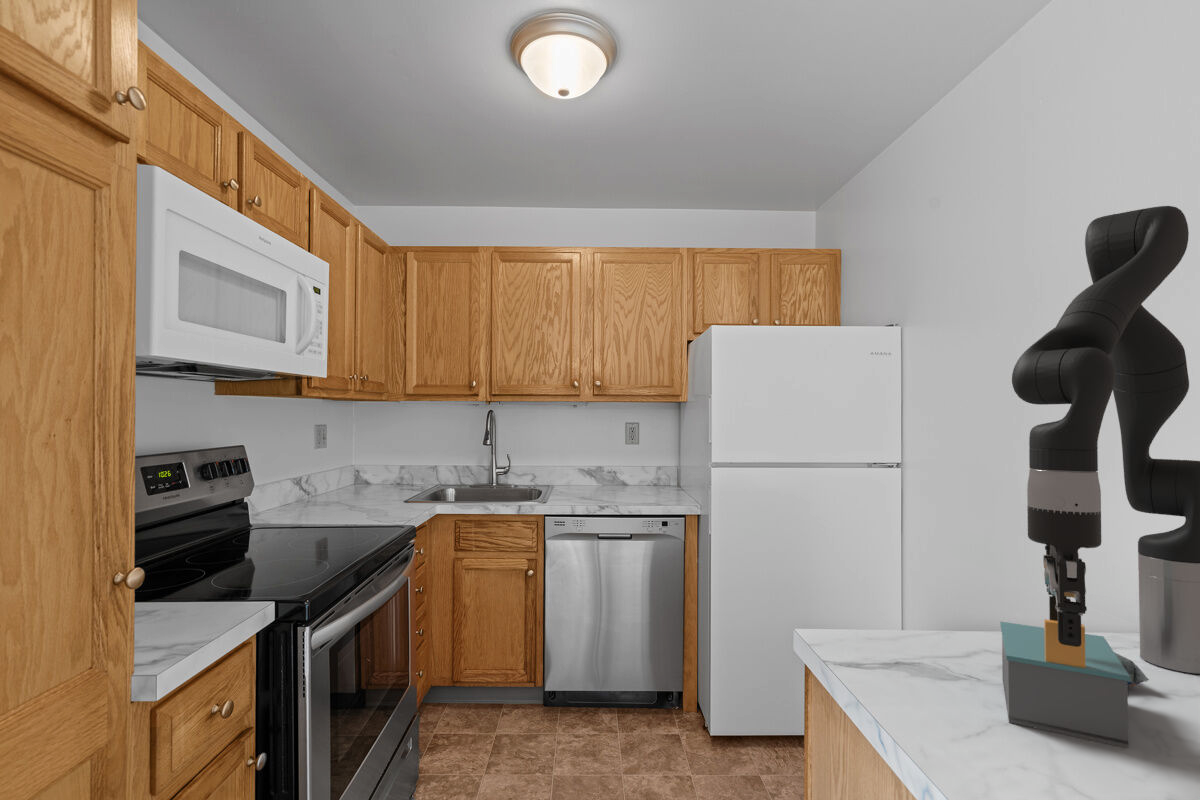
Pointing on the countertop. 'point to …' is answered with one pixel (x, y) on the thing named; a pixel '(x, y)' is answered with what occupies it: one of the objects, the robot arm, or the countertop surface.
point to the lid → (1060, 650)
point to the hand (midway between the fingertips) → (1064, 635)
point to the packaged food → (1132, 671)
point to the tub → (1066, 702)
